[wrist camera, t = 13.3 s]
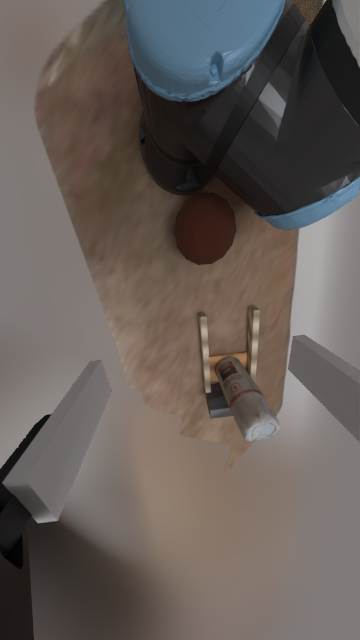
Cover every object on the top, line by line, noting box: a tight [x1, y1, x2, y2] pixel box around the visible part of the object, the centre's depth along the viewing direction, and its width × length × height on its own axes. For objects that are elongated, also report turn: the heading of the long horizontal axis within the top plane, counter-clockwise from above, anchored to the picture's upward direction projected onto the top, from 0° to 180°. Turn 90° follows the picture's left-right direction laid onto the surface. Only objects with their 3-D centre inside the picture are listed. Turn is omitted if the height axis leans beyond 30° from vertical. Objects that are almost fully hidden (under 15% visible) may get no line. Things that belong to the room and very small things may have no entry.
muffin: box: [174, 193, 236, 265], centre depth 33 cm, size 12×11×10 cm
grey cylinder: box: [215, 356, 280, 441], centre depth 42 cm, size 8×8×20 cm
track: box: [199, 306, 260, 418], centre depth 46 cm, size 27×14×9 cm, turn 6°
